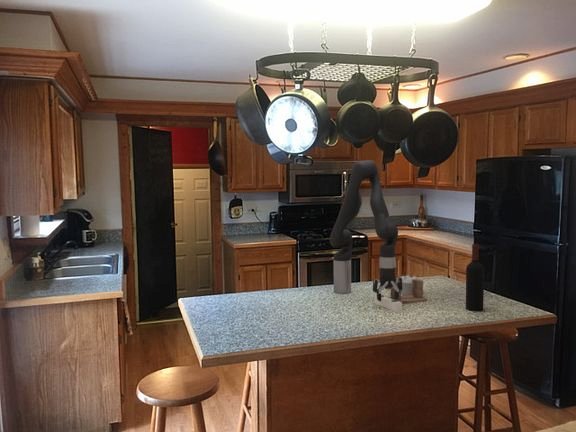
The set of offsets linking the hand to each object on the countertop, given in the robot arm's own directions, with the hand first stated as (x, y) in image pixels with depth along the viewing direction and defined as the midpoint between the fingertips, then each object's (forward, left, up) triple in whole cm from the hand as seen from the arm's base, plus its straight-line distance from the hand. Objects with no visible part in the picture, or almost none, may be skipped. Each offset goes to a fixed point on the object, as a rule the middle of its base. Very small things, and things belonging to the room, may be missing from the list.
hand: (387, 300), depth 227 cm
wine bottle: (+17, +35, -3) cm, 39 cm away
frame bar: (0, 0, -4) cm, 4 cm away
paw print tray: (-20, +22, -4) cm, 30 cm away
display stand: (-7, +14, -3) cm, 16 cm away
